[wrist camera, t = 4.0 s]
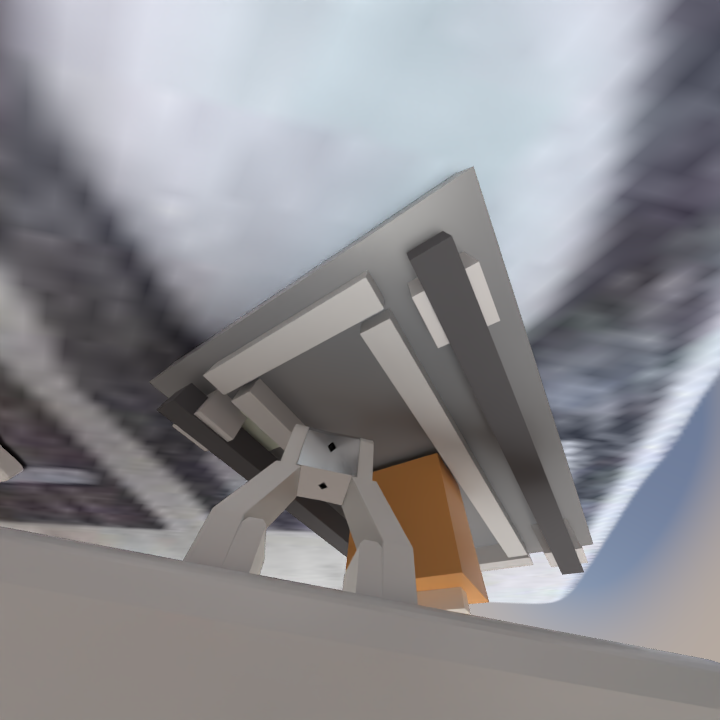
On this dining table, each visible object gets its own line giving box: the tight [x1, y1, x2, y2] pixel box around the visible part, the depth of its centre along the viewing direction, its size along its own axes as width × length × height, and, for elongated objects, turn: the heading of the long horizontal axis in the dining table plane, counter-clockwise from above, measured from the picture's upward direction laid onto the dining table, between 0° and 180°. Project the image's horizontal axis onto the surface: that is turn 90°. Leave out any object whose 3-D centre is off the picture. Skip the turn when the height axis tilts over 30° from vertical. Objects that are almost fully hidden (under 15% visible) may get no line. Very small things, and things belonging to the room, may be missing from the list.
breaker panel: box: [149, 166, 593, 572], centre depth 15 cm, size 16×24×4 cm, turn 32°
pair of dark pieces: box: [157, 231, 584, 575], centre depth 14 cm, size 13×22×1 cm, turn 32°
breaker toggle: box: [346, 453, 489, 614], centre depth 12 cm, size 5×3×6 cm, turn 122°
